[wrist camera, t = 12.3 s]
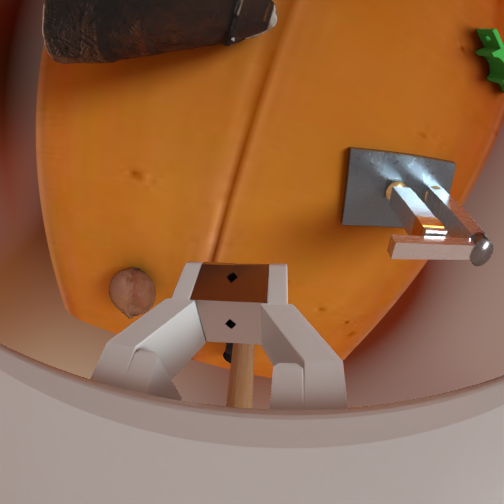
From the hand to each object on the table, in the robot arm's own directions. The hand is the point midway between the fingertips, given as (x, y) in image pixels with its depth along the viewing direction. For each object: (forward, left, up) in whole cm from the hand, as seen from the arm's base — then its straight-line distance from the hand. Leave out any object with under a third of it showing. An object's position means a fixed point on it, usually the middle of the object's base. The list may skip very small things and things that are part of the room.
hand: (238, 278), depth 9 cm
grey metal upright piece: (+10, +20, -30) cm, 38 cm away
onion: (+29, -26, -31) cm, 50 cm away
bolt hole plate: (+10, +20, -31) cm, 38 cm away
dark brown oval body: (-16, -11, -31) cm, 37 cm away
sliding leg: (+10, +19, -30) cm, 37 cm away
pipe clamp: (-15, +35, -32) cm, 49 cm away
